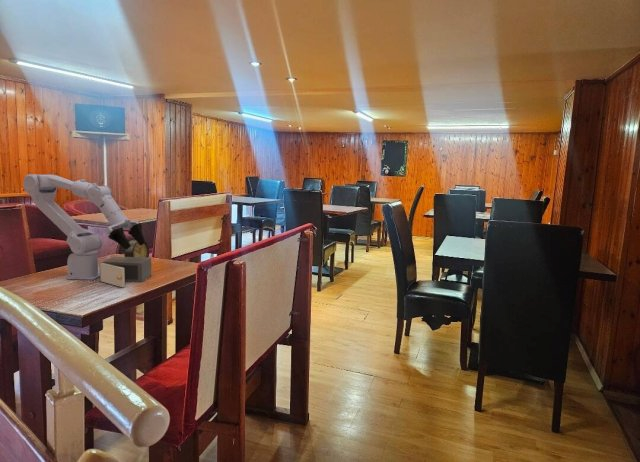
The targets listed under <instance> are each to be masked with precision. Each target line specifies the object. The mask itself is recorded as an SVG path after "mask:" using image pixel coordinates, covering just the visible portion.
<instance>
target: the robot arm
mask: <svg viewBox="0 0 640 462" xmlns="http://www.w3.org/2000/svg"><path fill="white" fill-rule="evenodd" d="M58 188H60V189H63V190H67V191H68V190H69V191H71V192H72V194H73V195H74V196H77V197H80V198H84V199H86V200H88V201H89V202H90V203H91V204H94V205H95V206H96V207H97V208H99V210H100V212H101V213H102V214H103V216H104V217H105V219H106V221H108V223H109V226H106V227H105V228H104V232H105V233H106V234H107V235H108V238H109V239H110V240H112V241H114V242H115V243H117V244H119V245H120V246H121V247H122V248H123V249H124V250H125V249H126V250H127V249H128V248H129V247H131V245H130V243H129V242H130V241H129V240H128V238H127V236H126V234H125V232H124V231H125V230H128V229H130V230H129V231H128V232H127V234H128V235H129V236H131V237H132V238H133V239H134V240H136V241H137V242H138V243H139V244H140V245H143V244H144V243H145V242H146V240H145V237H144V234H143V230H142V229H143V227H142V224H141V223H140V222H138V220H132V219H130V218H127V216H126V214H125V213H124V212H123V210H122V209H121V208H120V206H119V205H118V203H117V201H115V199H114V198H113V190H112V189H111V188H110V187H109V186H107V185H101V186H99V185H98V183H96V182H95V183H90V182H88V181H87V180H86V179H83V178H82V179H79V180H76V181H74V180H71V179H67V178H65V177H62V176H59V175H57V174H51V173H49V174H33V173H29V174H26V175H25V177H24V178H23V190H24V191H25V192H26V193H27V194H28V195H30V198H31V200H32V201H33V203H34V205H35V206H36V207H37V208H38V209H39V211H41V212H42V213H43V214H44V215H45V216H46V217H47V218H48V219H49V220H50V221H51V222H52V223H53V224H54V225H55V226H57V228H58V229H59V230H60V231H61V232H62V233H63V234H64V235H66V237H67V238H66V241H65V242H66V244H68V246H69V248H70V250H71V252H72V253H70V254H69V255H68V257H67V261H66V265H67V277H66V279H67V280H93V281H94V280H95V279H98V278H100V272H99V253H100V250H101V248H102V247H103V240H102V237H101V236H100V235H99V234H97V233H94V232H92V231H91V230H89V229H87V228H83V227H82V226H81V225H79V223H77V222H76V221H75V219H73V217H71V216H70V215H69V214H68V213H67V212H66V211H65V210H64V209H63V208H62V207H61V206H60V205H59V204H58V203H56V202H55V201H54V199H56V195H57V190H58Z"/></svg>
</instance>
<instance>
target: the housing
mask: <svg viewBox="0 0 640 462" xmlns="http://www.w3.org/2000/svg"><path fill="white" fill-rule="evenodd" d="M101 263H105V264H110V265H114V266H118V267H122V268H124V273H125V283H127V282H128V283H143V282H145V280H147V279H148V278H151V276H152V257H149V258H145V257H125V256H111V257H110V258H108V259H105V260H103V261H101Z"/></svg>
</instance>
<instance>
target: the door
mask: <svg viewBox="0 0 640 462" xmlns="http://www.w3.org/2000/svg"><path fill="white" fill-rule="evenodd" d="M98 272H99V273H100V276H99V282H102V283H106V284H109V285H113V286H117V287H121V288H125V287H126V282H125V273H124V268H122V267H118V266H114V265H110V264H105V263H102V262H98Z"/></svg>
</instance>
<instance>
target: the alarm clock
mask: <svg viewBox="0 0 640 462" xmlns="http://www.w3.org/2000/svg"><path fill="white" fill-rule="evenodd" d="M129 243H130V245H131V247H129V248H128V249H127V250H126V249H125V248H124V253H123V255H124V256H123V257H145V258H150V247H149V245H148V243H147V241H145V243H144V244H143V245H140V244H139V243H138V242H137V241H136V240H135V239H132V240H130V241H129Z"/></svg>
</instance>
